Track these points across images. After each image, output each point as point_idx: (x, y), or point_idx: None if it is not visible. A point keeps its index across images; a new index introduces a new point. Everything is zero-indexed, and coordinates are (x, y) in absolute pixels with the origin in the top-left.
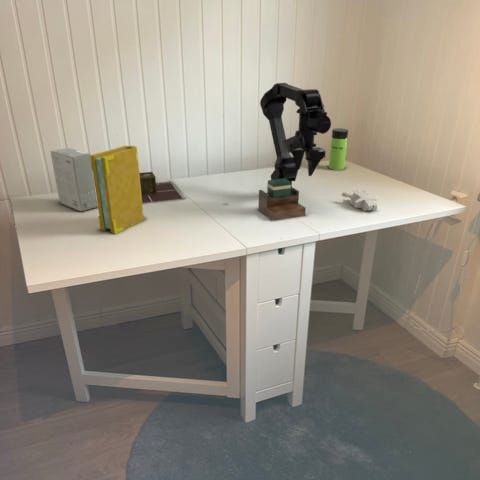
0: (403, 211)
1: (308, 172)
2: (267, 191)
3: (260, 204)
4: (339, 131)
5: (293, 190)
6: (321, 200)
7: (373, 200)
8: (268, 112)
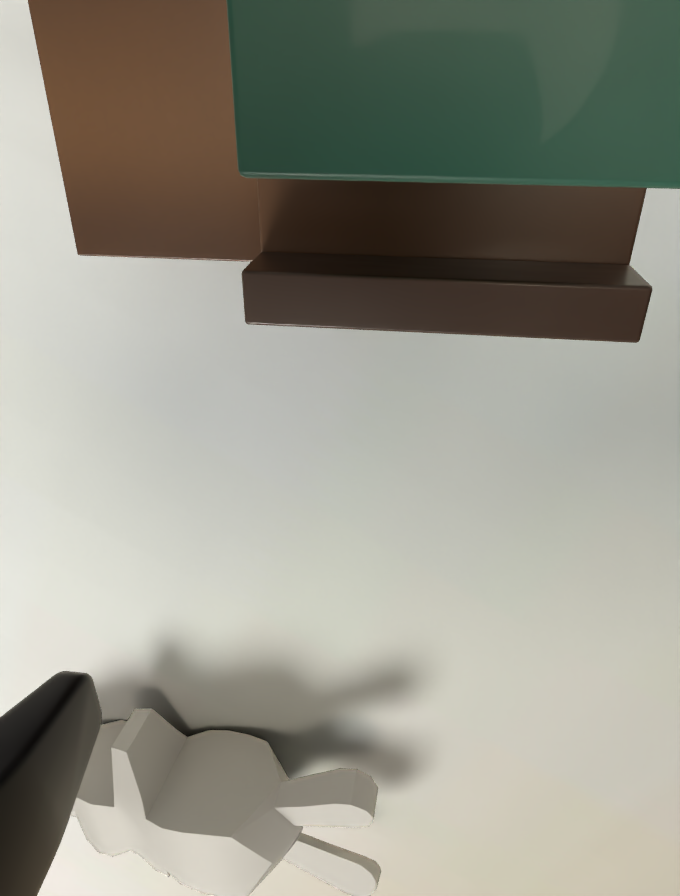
0: (58, 855)
1: (12, 740)
2: None
3: None
4: None
5: (379, 270)
6: (502, 628)
7: (91, 838)
8: None
